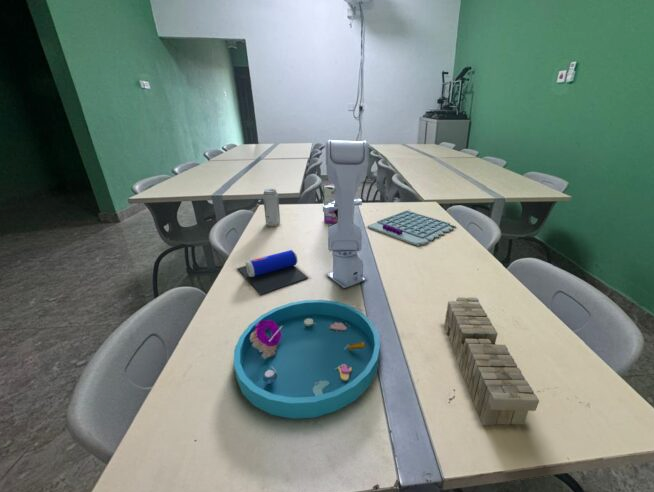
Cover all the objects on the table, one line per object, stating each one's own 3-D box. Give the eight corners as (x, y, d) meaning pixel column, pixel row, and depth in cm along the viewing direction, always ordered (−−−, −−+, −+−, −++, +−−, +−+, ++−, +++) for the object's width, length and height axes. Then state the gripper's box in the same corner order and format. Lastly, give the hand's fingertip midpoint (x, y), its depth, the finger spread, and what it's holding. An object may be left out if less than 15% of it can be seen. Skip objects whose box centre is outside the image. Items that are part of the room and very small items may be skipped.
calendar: (456, 228, 140) (457, 223, 139) (420, 247, 120) (421, 241, 119) (406, 213, 157) (406, 208, 156) (367, 227, 137) (367, 222, 136)
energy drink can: (265, 222, 138) (261, 189, 132) (279, 220, 140) (276, 187, 134) (267, 227, 133) (263, 192, 127) (281, 225, 135) (278, 191, 129)
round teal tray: (270, 307, 84) (268, 288, 81) (383, 318, 81) (384, 298, 79) (205, 407, 56) (199, 383, 54) (371, 429, 54) (373, 405, 51)
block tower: (442, 325, 81) (483, 433, 54) (446, 297, 77) (492, 397, 51) (472, 325, 81) (529, 433, 54) (477, 297, 78) (540, 397, 51)
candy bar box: (351, 222, 142) (351, 186, 135) (347, 226, 138) (347, 189, 131) (328, 218, 145) (327, 183, 138) (323, 222, 140) (322, 186, 134)
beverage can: (294, 247, 102) (247, 259, 93) (299, 262, 101) (252, 275, 93) (290, 252, 106) (244, 263, 98) (294, 266, 105) (249, 279, 97)
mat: (308, 278, 97) (307, 277, 97) (260, 295, 88) (260, 293, 88) (281, 256, 110) (281, 255, 110) (238, 269, 101) (237, 268, 101)
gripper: (353, 183, 109) (352, 220, 115) (317, 190, 101) (318, 229, 106) (366, 188, 104) (365, 226, 110) (329, 195, 96) (330, 236, 102)
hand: (343, 228), depth 108 cm, fingers closed
